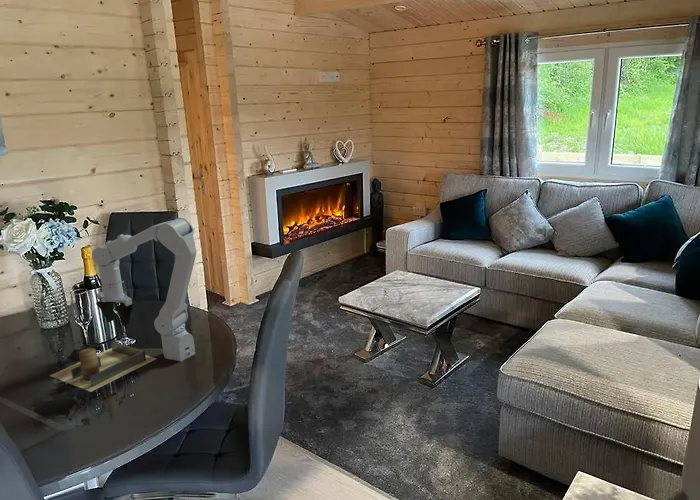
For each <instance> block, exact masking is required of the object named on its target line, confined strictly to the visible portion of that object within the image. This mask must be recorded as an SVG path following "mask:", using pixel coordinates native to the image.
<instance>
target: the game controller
mask: <svg viewBox="0 0 700 500" xmlns="http://www.w3.org/2000/svg"><path fill="white" fill-rule="evenodd" d="M88 348H94V349H96V351H100V350H104V347H103V346H102V345H99V344H89V343H87V344H84V345H81V346H80V347H79V348H77V349H73V351H71V353H70V358H72V359H73V360H75V361H78V362H80V358H79V352H80V351H82V350H84V349H88Z"/></svg>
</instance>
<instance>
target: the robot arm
mask: <svg viewBox="0 0 700 500" xmlns="http://www.w3.org/2000/svg"><path fill="white" fill-rule="evenodd" d="M194 232H195V228H194V227H193V225H192V224H191V223H190V221H189V220H188V219H187V218H185V217H177V218H175V219H174V220H168V221H165V222H160V223H158V224H155V225H152V226H150V227H148V228H146V229H144V230H143V231H141V232H140V231H139V233H137V234H134V235H130V234H124V233H122V234H119V235H117V236H116V237H117V238H116V239H114V240H113V239H112V240H108V241H106V242H105V244H103V245H101V246H97V247H95V248H94V249H93V250H92V252H91V253H92V254H91V257H92V260H93V262H94V263H95V264H96V265H97V267H98V271H99V273H98V274H99V278H100V283H101V289H102V291H99V292H97V293H96V298H97V299H98V301H97V302H95V303H96V306H97V307H98V308H99V309H100V310H101V312H102V314H103V316H104V317H105V320H106V322H107V323H110V322H113V321H114V320H115V311H116V312H117V314H118V317H119V321H120V324H121V326H122V327H126V326H129V325H130V322H131V315H132V310H133V308H134V306H135V303H134V302H133V301H132V300H133V299H132V297H129V296H127V295H126V294H125V293H124V288H123V283H122V277H121V270H120V260H121V259H122V258H125V257H126V256H129V255H131V254H133V253H135V252H136V251H137V249H138V246H140V245H142V244H144V243H147V242H149V241H152V240H154V241H155V242H159V243H161V244H162V245H163V246H164V247H165V248H166V249H168V250H169V251H170V252H171V253H172V254H173V255H175V261H174V263H173V269H172V272H171V277H170V282H169V286H168V290H167V294H166V299H165V301H164V304H163V305H162V307H161V308H160V310H159V313H158V316H157V317H156V318H154V322H153V325H154V328H155V330H156V331H157V332H158V334H159V335H160V337H161V344H162V351H163V357H164V358H165V359H167V360H173V361H178V362H183V361H185V360H187V359H189V358H190V357H192V356H194V355H196V348H195V347H196V346H195V340H194V339H195V338H194V336H193V335H192V334H191V333H189V331H187V330H186V323H187V320H188V319H189V316H188V315H189V314H188V304H187V303H186V298H187V294H188V291H189V287H190V281H191V277H192V273H193V270H194V265H195V260H196V257H197V247H196V243H195V242H196V241H195V239H194V238H195V237H194ZM115 303H116V304H118V305H116V306H115Z"/></svg>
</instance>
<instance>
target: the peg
mask: <svg viewBox="0 0 700 500" xmlns="http://www.w3.org/2000/svg"><path fill="white" fill-rule="evenodd" d="M97 354H98V353H97V350H96V349H94V348H88V349H84V350H82V351H80V352H79V358H80V361H79V362H80V363H81V368H82V374H83V379H84V380H85V381H90V376H92V375H94V374H96V373H98V372H100V370H99V365H98V359H97Z"/></svg>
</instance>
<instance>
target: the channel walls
mask: <svg viewBox="0 0 700 500" xmlns="http://www.w3.org/2000/svg"><path fill="white" fill-rule="evenodd" d="M110 345H111V348H112V351H115V352H118V353H121V354H124V355H127V356H131V357H129V358H127V359H125V360H123V361H121V362H119V363H117V364H115V365H112V366H110V367H108V368H106V369H104V370H102V371H100V372H98V373H96V374H94V375H92V376H90V381H91V386H92V387H93V386H95V385H97V384H99V383H101V382H103V381H105V380H107V379H109V378H111V377H113V376H115V375H117V374H119V373H121V372H123V371H125V370H127V369H129V368H131V367H133V366H135V365H137V364H139V363H141V362H143V361H145V360H146V357H145V355H146V352H145V350H142V349H139V348H136V347H134V346H133V347H132V346H129V345H125V344H122V343H119V342H115V341H110ZM97 359H98V365H99V367H101V361H100V357H98V356H97ZM71 374H72V379H76V378H78V377H80V376H82V375H83V374H82V368H81V365H79V366H77V367H75V368H73V369H71Z"/></svg>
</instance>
